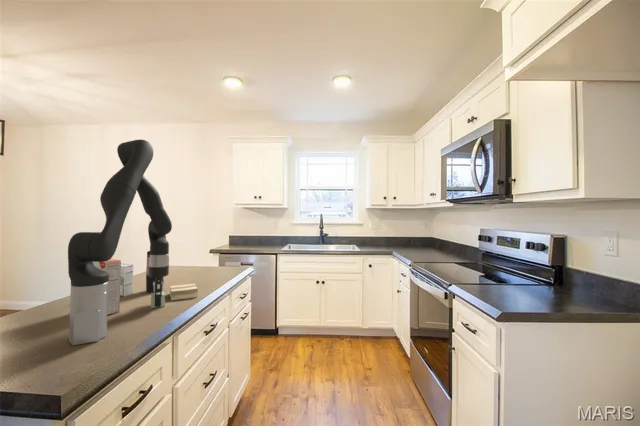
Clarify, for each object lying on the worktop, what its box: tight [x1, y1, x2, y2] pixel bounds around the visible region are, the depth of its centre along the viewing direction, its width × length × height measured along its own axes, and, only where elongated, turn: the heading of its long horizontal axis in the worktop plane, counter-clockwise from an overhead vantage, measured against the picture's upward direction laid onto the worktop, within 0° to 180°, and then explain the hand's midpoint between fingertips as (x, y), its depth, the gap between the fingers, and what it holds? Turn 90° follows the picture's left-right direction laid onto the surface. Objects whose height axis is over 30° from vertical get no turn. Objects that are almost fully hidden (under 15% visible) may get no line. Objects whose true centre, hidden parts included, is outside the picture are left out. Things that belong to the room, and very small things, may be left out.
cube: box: [150, 291, 166, 309], centre depth 118 cm, size 5×5×5 cm
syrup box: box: [120, 263, 134, 297], centre depth 132 cm, size 6×6×14 cm
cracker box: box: [93, 258, 122, 316], centre depth 110 cm, size 14×6×21 cm, turn 62°
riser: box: [169, 283, 199, 301], centre depth 133 cm, size 11×11×4 cm
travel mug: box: [145, 250, 164, 294], centre depth 140 cm, size 8×8×20 cm
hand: (157, 304), depth 118 cm, fingers closed on cube, 5 cm apart
